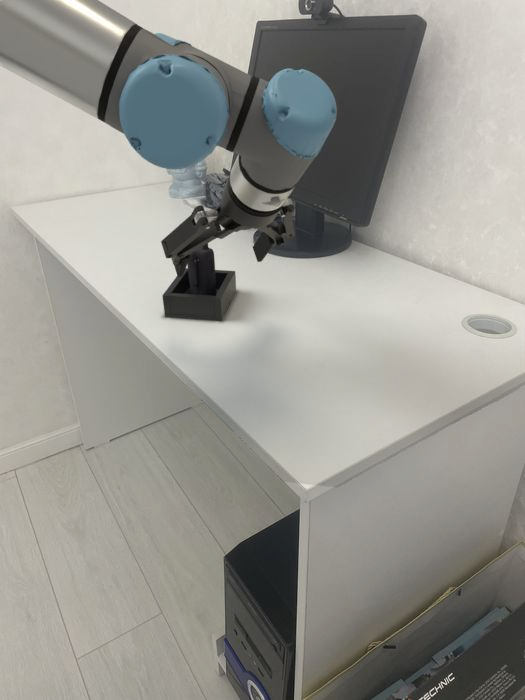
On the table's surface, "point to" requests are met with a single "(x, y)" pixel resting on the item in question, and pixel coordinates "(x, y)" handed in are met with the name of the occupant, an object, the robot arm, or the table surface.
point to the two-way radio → (202, 271)
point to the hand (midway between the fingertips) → (218, 261)
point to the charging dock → (199, 298)
